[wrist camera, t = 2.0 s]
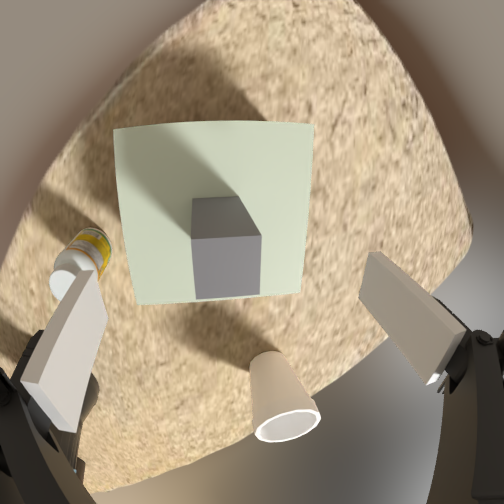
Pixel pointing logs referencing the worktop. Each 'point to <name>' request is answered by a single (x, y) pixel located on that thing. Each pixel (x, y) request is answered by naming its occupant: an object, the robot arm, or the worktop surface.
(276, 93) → the worktop surface
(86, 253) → the supplement bottle
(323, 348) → the worktop surface
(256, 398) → the foam cup
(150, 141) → the lid
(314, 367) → the worktop surface
